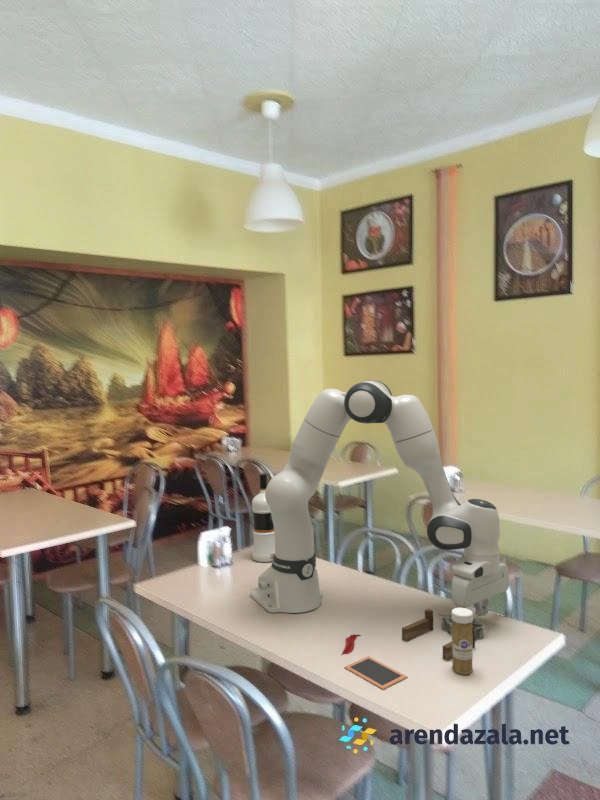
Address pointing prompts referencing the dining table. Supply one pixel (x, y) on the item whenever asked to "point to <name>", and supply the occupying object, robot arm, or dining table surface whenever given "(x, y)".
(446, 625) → the egg carton
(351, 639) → the cayenne pepper
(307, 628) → the dining table surface
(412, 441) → the robot arm
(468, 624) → the sprinkles bottle
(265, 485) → the vodka
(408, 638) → the walled channel
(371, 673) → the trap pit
